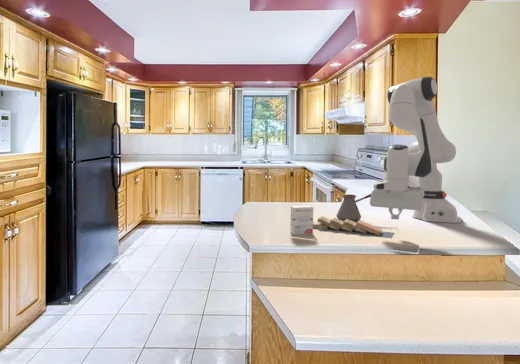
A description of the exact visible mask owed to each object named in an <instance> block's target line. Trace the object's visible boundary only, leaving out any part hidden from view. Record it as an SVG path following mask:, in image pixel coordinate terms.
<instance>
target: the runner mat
mask: <svg viewBox="0 0 520 364" xmlns="http://www.w3.org/2000/svg"><path fill="white" fill-rule="evenodd" d="M313 230H317V231H324V232H326V231H327V232H335V233H342V234H350V235H351V234H352V235H358V236H359V235H361V236H367V237H376V238H384V239H393V237H394V235H395V232H391V231H383V230H382V231H381V233H380V235H377V234H374V233H372V232H370V231H368V232H367V233H366V234H365V233H362V232H360V231H357V230H355V229H354V230H353V231H352V232H350V231H348V230H345V229H343V228H341V229H340V230H339V231H338V230H336V229H334V228H331V227H330V228H328V229H320V228H313Z"/></svg>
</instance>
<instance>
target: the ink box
mask: <svg viewBox="0 0 520 364" xmlns="http://www.w3.org/2000/svg"><path fill="white" fill-rule="evenodd" d="M313 222H314V207H313V206H311V205H291V206H290V227H289V228H290V233H291V234H292V235H293V236H294V235H310V234H311V235H312V234H313V233H314V232H313V231H314V229H313Z"/></svg>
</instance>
